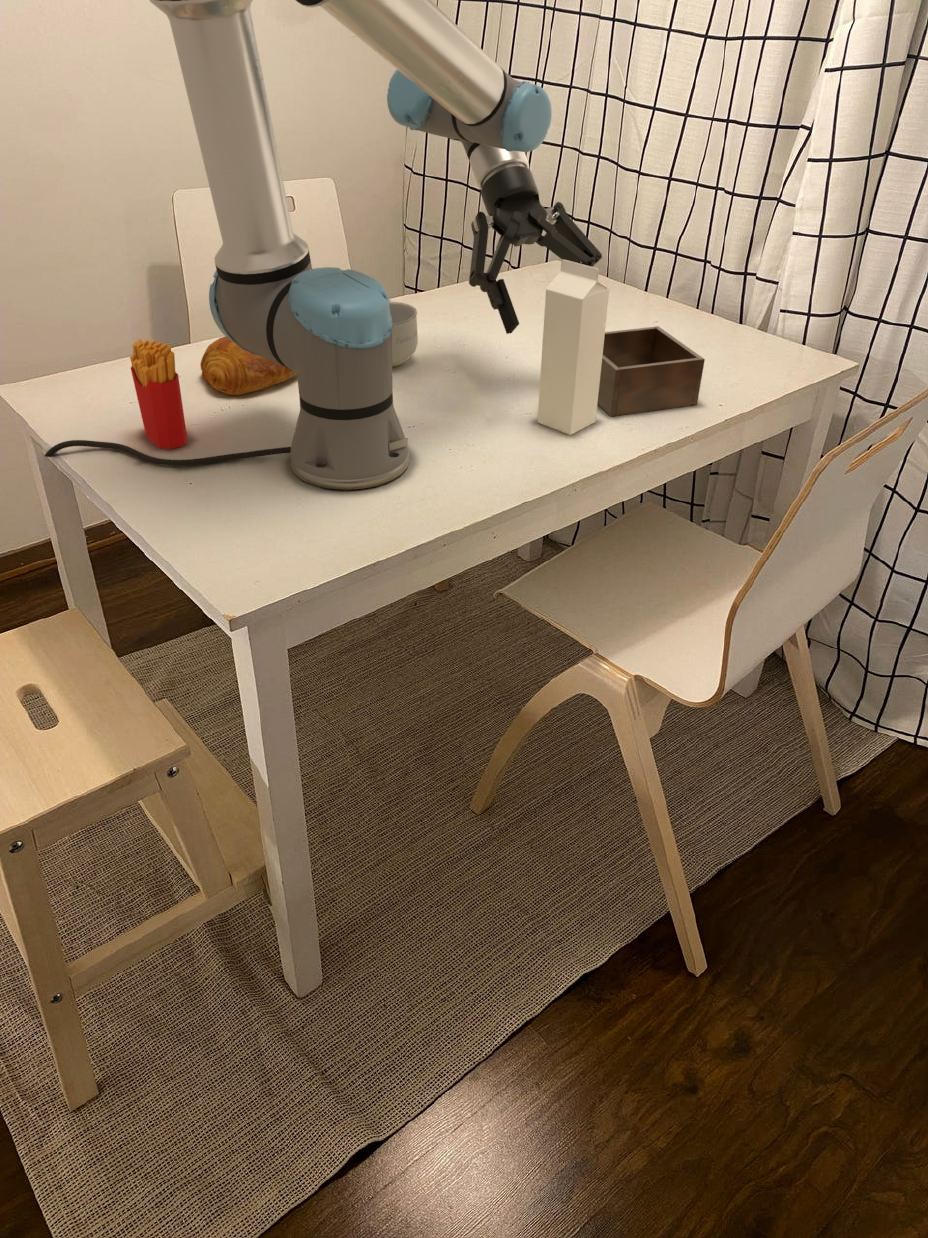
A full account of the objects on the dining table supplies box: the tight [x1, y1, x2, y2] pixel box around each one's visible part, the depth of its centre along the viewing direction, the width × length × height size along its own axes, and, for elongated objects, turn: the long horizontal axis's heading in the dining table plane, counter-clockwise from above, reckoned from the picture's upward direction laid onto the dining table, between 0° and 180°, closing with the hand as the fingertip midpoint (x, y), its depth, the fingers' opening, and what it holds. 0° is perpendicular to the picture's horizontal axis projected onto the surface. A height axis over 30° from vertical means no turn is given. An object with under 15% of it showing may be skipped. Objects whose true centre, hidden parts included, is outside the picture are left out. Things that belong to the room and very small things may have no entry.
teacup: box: [388, 298, 418, 368], centre depth 153 cm, size 14×11×8 cm
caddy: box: [597, 325, 705, 417], centre depth 143 cm, size 14×14×7 cm
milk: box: [536, 259, 610, 436], centre depth 130 cm, size 6×6×22 cm
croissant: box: [199, 335, 297, 396], centre depth 146 cm, size 14×16×8 cm
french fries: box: [129, 338, 188, 450], centre depth 126 cm, size 9×4×13 cm, turn 39°
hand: (555, 321), depth 131 cm, fingers open, 13 cm apart
